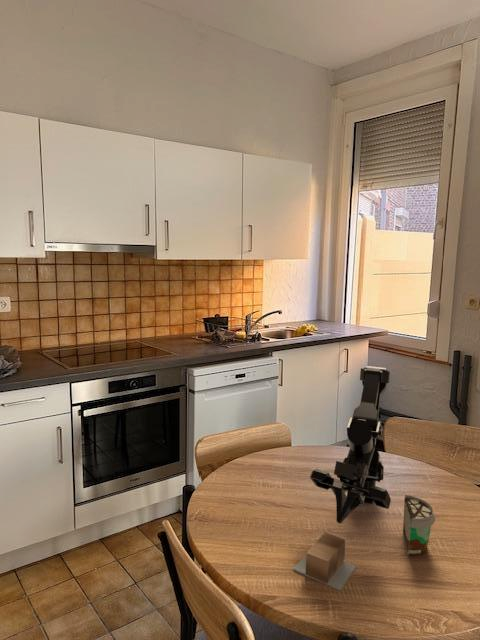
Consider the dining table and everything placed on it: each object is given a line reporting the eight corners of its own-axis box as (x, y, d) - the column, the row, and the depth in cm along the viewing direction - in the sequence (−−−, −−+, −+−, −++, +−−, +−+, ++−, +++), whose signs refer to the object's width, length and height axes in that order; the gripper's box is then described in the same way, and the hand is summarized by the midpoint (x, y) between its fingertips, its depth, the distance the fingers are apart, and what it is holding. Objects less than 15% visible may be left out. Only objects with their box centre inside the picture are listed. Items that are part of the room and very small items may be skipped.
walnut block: (325, 531, 110) (306, 552, 102) (345, 539, 107) (328, 561, 99) (324, 551, 111) (305, 574, 102) (344, 559, 108) (326, 583, 100)
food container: (437, 564, 108) (440, 523, 107) (409, 560, 109) (412, 519, 108) (427, 533, 120) (430, 496, 119) (401, 530, 121) (404, 493, 120)
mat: (311, 550, 112) (311, 548, 112) (355, 568, 106) (356, 566, 106) (293, 570, 104) (293, 568, 104) (340, 590, 98) (340, 588, 98)
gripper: (314, 437, 117) (292, 497, 110) (390, 457, 107) (371, 524, 99) (326, 456, 125) (306, 514, 117) (398, 476, 114) (380, 541, 107)
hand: (338, 522), depth 110 cm, fingers closed
